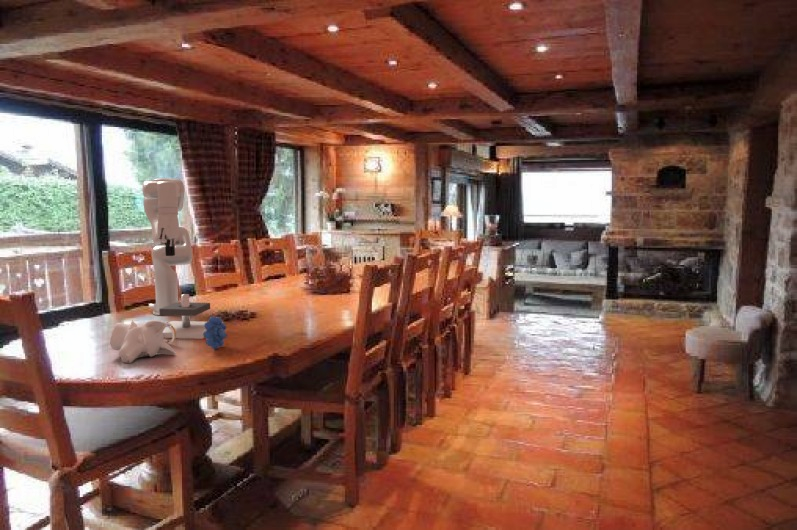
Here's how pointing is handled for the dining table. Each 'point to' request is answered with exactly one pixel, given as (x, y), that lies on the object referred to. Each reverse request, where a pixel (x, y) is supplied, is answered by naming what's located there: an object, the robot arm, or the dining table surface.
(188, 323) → the glossy pinkish cylinder
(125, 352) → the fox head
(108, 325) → the dining table surface
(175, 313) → the square hole plate
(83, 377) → the dining table surface
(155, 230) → the robot arm
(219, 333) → the grapes
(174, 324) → the stand plate
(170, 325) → the ring
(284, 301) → the dining table surface
